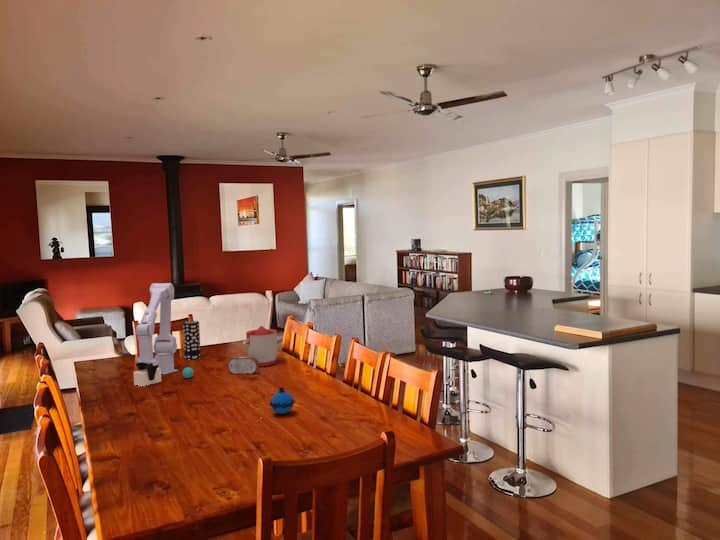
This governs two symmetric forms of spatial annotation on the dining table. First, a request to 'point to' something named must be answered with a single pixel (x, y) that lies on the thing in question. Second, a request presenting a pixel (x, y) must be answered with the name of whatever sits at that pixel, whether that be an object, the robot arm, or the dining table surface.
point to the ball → (188, 372)
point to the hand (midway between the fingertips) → (147, 378)
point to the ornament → (282, 402)
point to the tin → (243, 365)
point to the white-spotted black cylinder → (191, 340)
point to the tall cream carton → (146, 377)
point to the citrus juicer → (262, 345)
